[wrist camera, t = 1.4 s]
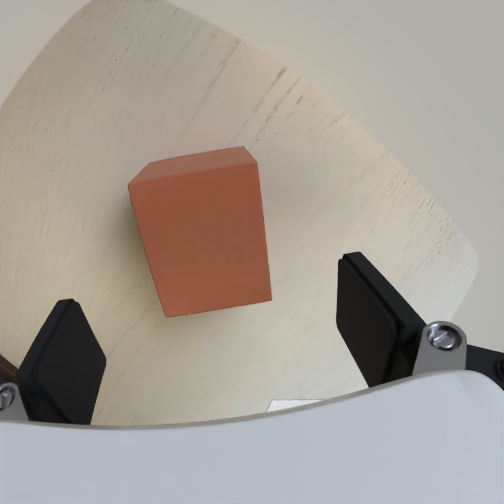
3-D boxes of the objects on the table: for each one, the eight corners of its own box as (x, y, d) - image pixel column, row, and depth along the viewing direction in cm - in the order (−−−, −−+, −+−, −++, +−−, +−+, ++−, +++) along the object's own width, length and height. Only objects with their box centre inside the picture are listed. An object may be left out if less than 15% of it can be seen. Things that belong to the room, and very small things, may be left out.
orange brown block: (148, 163, 16) (126, 184, 12) (243, 146, 17) (257, 161, 12) (173, 269, 20) (165, 318, 15) (257, 255, 20) (272, 300, 15)
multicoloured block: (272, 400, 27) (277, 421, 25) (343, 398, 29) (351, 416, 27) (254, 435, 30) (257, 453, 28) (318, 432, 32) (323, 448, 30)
